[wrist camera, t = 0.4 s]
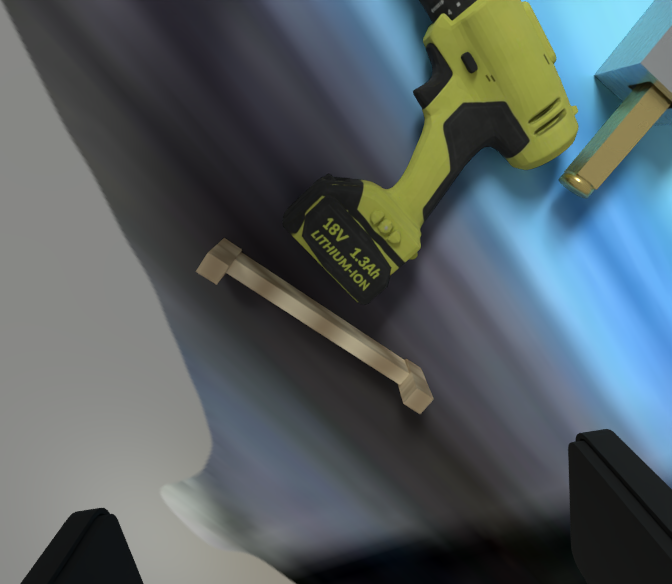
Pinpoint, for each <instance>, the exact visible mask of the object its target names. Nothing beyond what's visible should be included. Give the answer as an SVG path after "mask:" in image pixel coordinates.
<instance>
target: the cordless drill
mask: <svg viewBox="0 0 672 584" xmlns="http://www.w3.org/2000/svg"><path fill="white" fill-rule="evenodd" d="M419 1H420V2H421V4H422V6H423V7H424V9H425V11H426V12H427V14H428V16H429V17H430V19H431V21H432V22H433V24H431V25H430V26H429V27H428V29H427V32H426V34H425V36H424V38H423V43H424V45H425V48H426V51H427V54H428V56H429V59H430V61H431V64H432V70H433V71H432V76H431V79H430V80H429V81H428V82H427V83H425V84H424V85H422V86H420V87H419V88H417V89H415V90H414V91H413V93H414V96H415V97H416V99H417V101H418V103H419V104H420V106H421V107H422V111H423V114H424V118H425V122H424V127H423V131H422V134H421V136H420V139H419V141H418V143H417V146H416V148H415V150H414V153H413V155H412V158H411V160H410V162H409V164H408V166H407V168H406V170H405V172H404V174H403V175H402V177H401V178H400V180H399V181H398V182H397V183H396V184H395V185H394V186H393V187H392V188H390V189H383V188H381V187H380V186H378V185H377V184H375V183H373V182H370V181H365V180H359V179H350V178H338V177H333V176H332V175H330V174H327V175H326V176H325V177H322V178H320V179H319V180H317V181H316V182H315V183H314V184H313V185H312V186H311V187H310V188H309V189H308V190H307V191H306V192H305V193H303V194H302V195H301V196H300V197H299V198H298V199H297V200H296V201H295V202H294V203H293V204H292V205H291V206H290V207H289V208H288V210H287V211H286V212H285V213H284V216H283V222H282V224H283V227H284V228H285V229H286V230H287V231H288V232H289V233H290V234H291V235H292V236H293V237H294V238H295V239H296V240H297V241H298V242H299V243H300V244H301V245H302V246H303V247H304V248H305V249H306V250H307V251H308V252H309V253H310V254H311V255H312V256H313V257H314V258H315V259H316V260H317V262H318V263H319V264H320V265H321V266H322V267H323V268H324V269H325V270H326V271H327V272H328V273H329V274H330V275H331V276H332V277H333V278H334V279H335V280H336V281H337V282H338V283H339V284H340V285H341V286H342V287H343V288H344V289H345V290H346V291H347V292H348V293H349V294H350V295H351V296H352V297H353V298H354V299H355V300H356V301H357V302H359V303H360V304H363V305H366V304H369V303H370V302H371V301H372V300H373V299H374V298H375V297H376V296H377V295H378V294H379V293H381V292H382V291H383V290H384V289H385V288H386V287H388V283H389V279H390V275H391V274H392V273H394V272H395V271H396V270H397V269H398V268H399V267H401V266H402V265H403V264H404V263H405V262H406V261H407V260H409V259H411V260H412V259H415V258H416V257H417V255H418V254H417V251H418V250H419V249H420V248H421V243H420V236H421V232H420V228H421V226H422V224H423V223H424V221H425V220H426V219H427V218H428V216H429V215H430V214H431V212H432V211H433V210H434V208H435V207H436V206H437V204H438V203H439V201H440V200H441V199H442V197H443V196H444V195H445V193H446V192H447V190H448V189H449V188H450V186H451V185H452V183H453V182H454V180H455V179H456V178H457V176H458V175H459V173H460V172H461V171H462V169H463V168H464V166H465V165H466V164H467V163H468V162H469V161H470V160H471V159H472V157H473V156H474V155H475V154H476V153H477V152H479V151H480V150H481V149H482V148H484V147H492V148H495V149H496V150H497V151H498V152H499V153H500V154H501V155H502V156H503V157H504V158H506V160H507V161H508V162H509V163H510V165H511V166H512V167H514V168H518V169H523V170H529V169H533V168H536V167H538V166H541V165H543V164H545V163H547V162H549V161H551V160H552V159H554V158H556V157H557V156H559V155H560V154H561V153H563V152H564V151H565V150H566V149H568V148H569V147H570V146H571V144H572V143H573V142H574V140H575V137H576V134H577V131H578V123H577V121H576V118H575V116H574V115H575V114H576V113H577V112H578V109H577V106H571V105H570V103H569V100H568V98H567V95H566V92H565V90H564V87H563V85H562V82H561V80H560V77H559V75H558V73H557V71H556V68H555V66H554V63H555V61H556V55H555V53H554V51H553V49H552V47H551V45H550V43H549V41H548V39H547V37H546V35H545V33H544V31H543V29H542V27H541V25H540V23H539V21H538V19H537V17H536V15H535V13H534V12H533V10H532V8H531V6H530V4H529V3H528V2H521V0H419Z"/></svg>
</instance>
